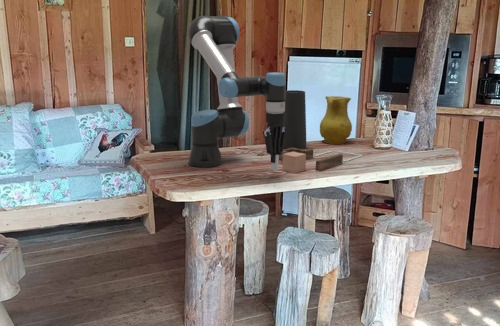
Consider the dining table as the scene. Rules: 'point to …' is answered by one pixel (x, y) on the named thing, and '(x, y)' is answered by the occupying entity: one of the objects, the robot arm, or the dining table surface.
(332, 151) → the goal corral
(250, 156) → the dining table surface
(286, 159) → the block
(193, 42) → the robot arm
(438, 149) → the dining table surface
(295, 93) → the tapered dark column
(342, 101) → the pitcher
